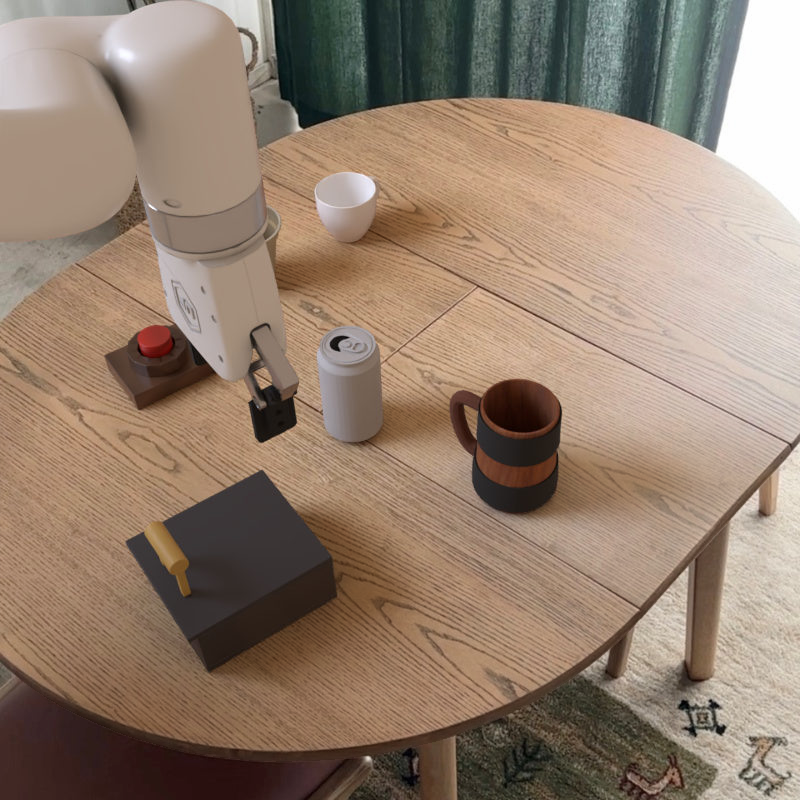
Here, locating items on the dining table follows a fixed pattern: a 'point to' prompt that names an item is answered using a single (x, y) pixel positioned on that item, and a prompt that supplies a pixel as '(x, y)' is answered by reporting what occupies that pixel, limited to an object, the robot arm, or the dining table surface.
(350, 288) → the dining table surface
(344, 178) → the cup
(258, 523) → the box lid
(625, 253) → the dining table surface
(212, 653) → the box case
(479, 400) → the mug
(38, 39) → the robot arm
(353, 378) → the beverage can
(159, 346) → the alarm button
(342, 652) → the dining table surface
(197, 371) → the block
